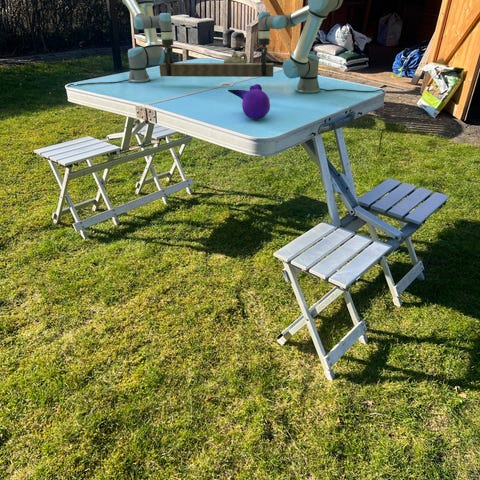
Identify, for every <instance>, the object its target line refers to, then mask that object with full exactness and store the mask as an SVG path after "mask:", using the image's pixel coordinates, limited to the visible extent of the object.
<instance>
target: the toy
mask: <svg viewBox="0 0 480 480" xmlns="http://www.w3.org/2000/svg"><path fill="white" fill-rule="evenodd" d="M227 91H228V92H229V93H231V94H232V95H235V96H237V97H238V98H240V99H241V100H242V103H241V107H242V111H243V113H244V115H245V116H246V117H247V118H248V119H251V120H257V121H259V120H262V119H264V118H265V117H266V116H267V115H268V114H269V112H270V109H271V100H270V97H269V96H268V95H267V93H266V92H265V91H263V87H262V85H261V84H259V83H256V84H253V85H250V86H249V90H245V89H227Z"/></svg>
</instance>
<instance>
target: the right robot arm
mask: <svg viewBox="0 0 480 480" xmlns="http://www.w3.org/2000/svg"><path fill="white" fill-rule="evenodd" d="M343 2H344V0H307V5H305V6H303V7H300V8H299V9H297V10H295V11H292V12H290V13H288V14H282V15H281V14H280V15H271V12H270V11H259V12H258V17H257V18H258V19H257V23H258V24H257V26H258V27H257V28H258V30H257V32H258V33H257V37H258V39H257V41H258V44H257V45H259V46H261V47H260V50H261V51H260V54H261V63H262V64H261V66H262V76H266V63H267V54H268V47H267V46H269V45H270V44H271V38H270V37H271V33H272V32H271V29H272V30H283V29H287V28H295V27H297V26H298V25H299V24H301V23H303V22H305V23H304V26H303V29H302V31H301V34H300V37H299V39H298V42H297V44H296V47H295V49H294V50H293V51H292V52H291V53H290V55H289V58H287V59H286V60H284V61H283V63H282V71H283V74H284V76H285V77H286V78H288V79H296V78H299V80H298V82H297V86H296V90H295V91H296V93H299V94H317V93H319V92H320V91H324V92H334V91H335V92H336V91H344V92H345V91H346V92H355V93H356V92H357V93H376V92H381V91H382V92H383V93H385V92H386V91H385V90H384V89H383V88H379V89H375V90H357V89H345V88H335V89H334V88H333V89H325V88H321V87H320V84H319V81H318V78H319V77H318V76H319V65H320V57H319V55H318V54H312V53H310V51H311V49H312V46H313V44H314V42H315V40H316V37H317V34H318V32H319V30H320V28H321V25H322V23H323V20H324V19H327V17H328V15H329V13H330V12H333V11H336V10H338V9H340V7H341V6H342V4H343ZM383 133H384V129H381V133H380V139H379V140H380V141H379V145H378V153H380V152H381V145H382V138H383Z"/></svg>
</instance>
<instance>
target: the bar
mask: <svg viewBox="0 0 480 480" xmlns="http://www.w3.org/2000/svg"><path fill="white" fill-rule="evenodd" d="M261 64H262V62H250V63H249V62H247V63H224V62H222V63H221V62H187V63H186V62H173V63H170V66H171V76H170V77H186V78H187V77H197V78H198V77H200V78H201V77H203V78H204V77H205V78H207V77H210V78H213V77H216V78H219V77H221V78H224V77H225V78H235V77H236V78H238V77H239V78H273V77H274V68H275V67H274V66H275V65H274V62H266V76H262V66H261ZM158 66H159V76H160V77H168V76H167V67H166V66H165V62H163V63H161V64H158Z"/></svg>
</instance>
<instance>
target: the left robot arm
mask: <svg viewBox="0 0 480 480" xmlns="http://www.w3.org/2000/svg"><path fill="white" fill-rule="evenodd" d="M121 2H122V4H123V5H124V6H126V7H127V9H128V11H129V13H130V14H131V16H132V18H133V20H132V21H133V26H134V29H136V30H143V32H144V37H145V45H144V47H143V46H136V47H132V48H130V49H127V58H128V66H129V76H128V79H124V80H118V81H100V82H86V83H76V84H77V85H74V84H75V83H69V84H70V85H69V84H68V85H67V87H68V88H69V87H70V86H76V87H77V86H85V85H98V84H99V85H100V84H117V83H124V82H129V83H133V84H141V83H148V82H150V75H149V74H148V71H147V67H146V66H155V65H158V66H159V64H161V63H165V66H166V67H167V76H166V77H172V76H171V66H170V63H175V62H174V53H173V50H174V49H173V47H172V46H173V45H174V39H173V37H174V36H173V35H174V33H173V23H172V20H173V19H172V15H171V13H170V12H161V13H159V14H157V15H154V10H153V6H154V5H155V2H156V0H121ZM157 29H160V37H161V43H160V42H158V41H159V39H158V34H157ZM161 45H162V46H164V47H162V46H161ZM72 131H73V135H76V132H75V129H73V130H72Z"/></svg>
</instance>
